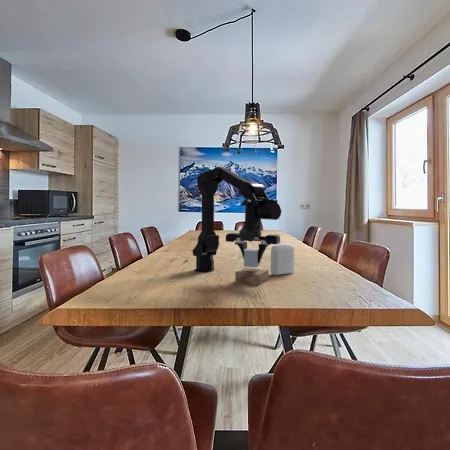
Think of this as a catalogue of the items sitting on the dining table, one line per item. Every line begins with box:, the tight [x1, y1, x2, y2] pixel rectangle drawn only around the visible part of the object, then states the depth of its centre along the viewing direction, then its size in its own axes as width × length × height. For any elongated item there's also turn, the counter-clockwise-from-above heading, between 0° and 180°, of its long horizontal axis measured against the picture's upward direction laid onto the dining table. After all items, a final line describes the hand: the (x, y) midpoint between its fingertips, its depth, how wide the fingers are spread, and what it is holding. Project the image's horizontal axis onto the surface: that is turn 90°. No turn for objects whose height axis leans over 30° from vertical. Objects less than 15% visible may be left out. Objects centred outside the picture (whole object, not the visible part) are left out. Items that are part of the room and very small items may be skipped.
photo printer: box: [270, 242, 295, 276], centre depth 135 cm, size 10×4×12 cm, turn 123°
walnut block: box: [234, 267, 269, 286], centre depth 121 cm, size 9×9×4 cm
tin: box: [243, 247, 261, 268], centre depth 121 cm, size 5×5×6 cm
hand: (252, 262), depth 121 cm, fingers closed on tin, 5 cm apart
